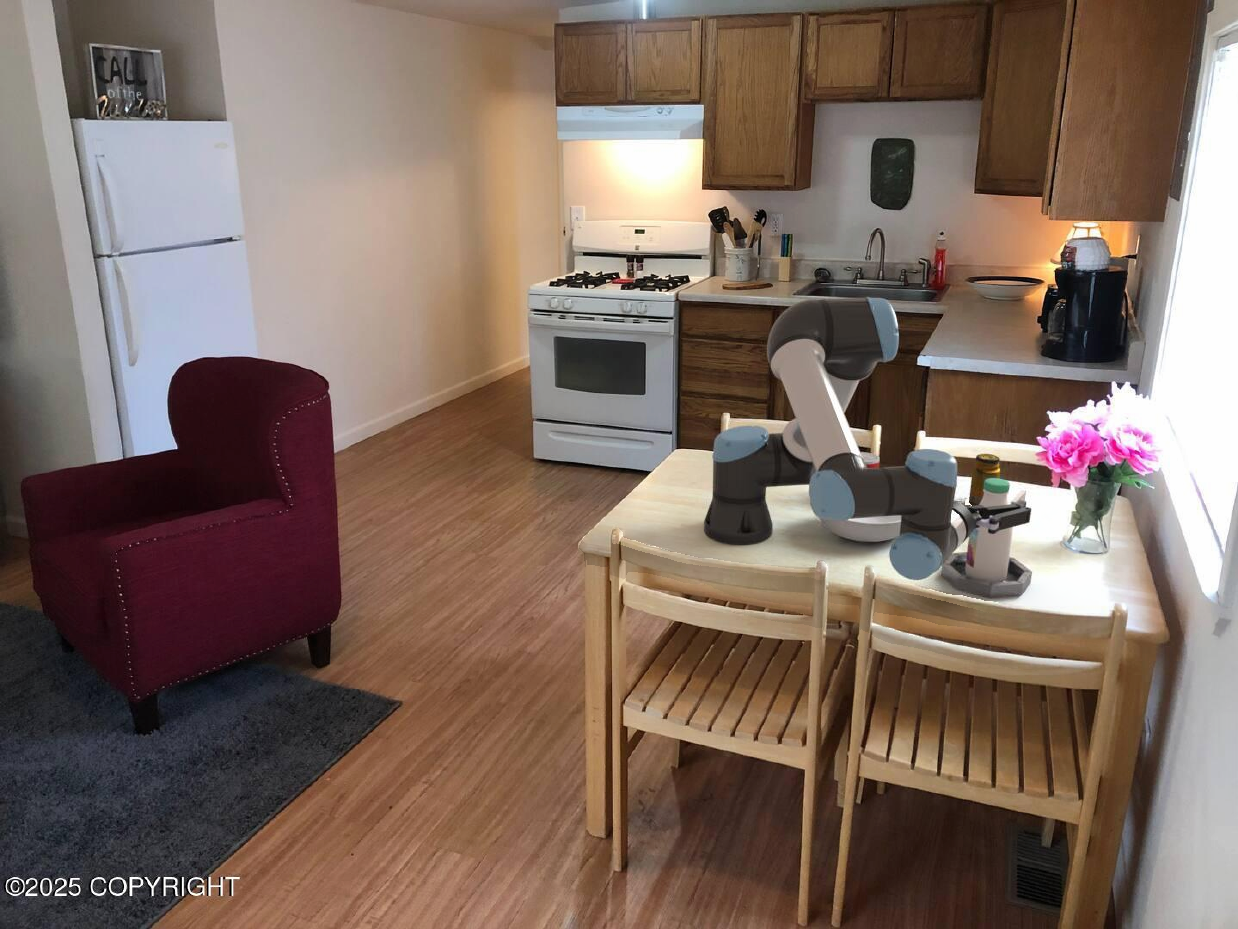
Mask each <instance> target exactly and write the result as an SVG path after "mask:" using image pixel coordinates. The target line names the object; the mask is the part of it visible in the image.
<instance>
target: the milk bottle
mask: <svg viewBox="0 0 1238 929" xmlns="http://www.w3.org/2000/svg"><path fill="white" fill-rule="evenodd" d="M1010 487H1011V484H1010V481H1008V480H1006V479H1003V478H999V479H998V478H989V479H986V480H985V481H984V489H983V491H984V496H983V498H982V500H981V502H980V504H979V505H983V506H984V507H990V506H1000V505H1009V504H1008V503H1009V502H1008V495H1009V493H1010V492H1009V491H1010ZM977 512H978V513H979V511H977ZM1013 528H1014V527H1011V528H1007V529H1003V530H999V531H998V532H997V533H995V534H990V533H988V528H985V527H981V526H980V527H979V528H976V529H974V530H973V532H972V533H971V535H970V536H969V537H968V540H967V541H968V543H967V550H966V552H967V558H966V566H965V573H966V575H967V577H968V578H972V579H976V580H980V581H984V582H988V583H999V582H1003V581H1004V580H1005V579H1006V576H1007V570H1008V562H1009V557H1010V556H1011V554H1010V552H1011V546H1012V538H1013Z"/></svg>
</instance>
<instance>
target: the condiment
mask: <svg viewBox="0 0 1238 929" xmlns="http://www.w3.org/2000/svg"><path fill="white" fill-rule="evenodd" d="M1000 474H1001V469H1000V457H999V456H997V455H995V454H992V453H979V454H977V455H976V457H975V461H974V465H973V466H972V472H971V480H970V481H971V482H970V486H969V487H970V489H969V495H968V497H969V503H970V504H971V505H972V506H974V505H979V504H980V502H981V500H982V498H983V496H984V491H983V489H984V481H985V480H986V479H989V478H998V479H1000Z"/></svg>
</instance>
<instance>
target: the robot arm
mask: <svg viewBox="0 0 1238 929" xmlns="http://www.w3.org/2000/svg"><path fill="white" fill-rule="evenodd" d="M899 337H900V335H899V323H898V319H897V315H896V312H895V310H894V307H893V306H892V304H891V303H890V301H888V299H885V298H882V297H869V296H866V297H847V298H829V299H827V298H826V299H815V298H814V299H806V300H801V301H798V302H797V303H794V304H793V305H790V306H789V307H788V308H786V309H785V310H784V311H783V312H782V313H781V314H780V315H779V316H777V319H776V320H775V321H774V323H773V325H772V328H771V330H770V332H769V334H768V339H767V345H766V356H767V361H768V363H769V367H770V369H771V372H772V374H773V375H774V377H775V378H777V379H778V380H780V381H781V382H782V385H783V387H784V391H785V393H786V396H787V398H788V400H789V403H790V406H791V408H792V412H793V414H794V416H795V418H793V419H792V420H790V421H788V422H787V424H786V425H785V426H784V428H783V431H782V432H776V433H769V431H768V429H767V428H765V427H763V426H758V425H753V426H751V425H742V426H741V425H740V426H736V427H731V428H728V429H725V430H723V431H721V433H719V434H718V435H717V436H716V437H715V439H714V442H713V451H712V452H713V453H712V454H711V455H712V499H711V502H710V503H709V506H708V509H707V512H706V515H705V517H704V521H703V533H704V534H705V535H706V536H707V537H708V538H710V539H711V540H714V541H715V542H718V543H724V544H729V545H752V544H759V543H762V542H765V541H766V540H768V539H769V538H771V537H772V535H773V520H772V517H771V513H770V511H769V507H768V504H767V500H766V498H767V497H766V496H767V494H766V493H767V492H766V491H767V488H772V487H773V488H774V487H788V486H808V497H809V501H810V502H809V504H810V508H811V510H812V513H813V514H814V515H815V516H816V517H817V518H818V519H819V518H820V519H825V520H848V519H855V518H868V517H882V516H899V515H901V525H900V534H899V536H897V537H895V538H894V541H893V542H892V544H891V545H890V547H889V553H888V557H889V560H890V564H891V566H892V567H893V569H894V571H896V572H897V573H898V575H900V576H902V577H903V578H906V579H908V580H911V581H921V580H925V579H927V578H929V577H930V576H931V575H933V574H934V573H935V574H936V572H937V571H939V569H942V565H943V563H944V562H945V561H946V560H947V559H948V558H949V557H950V556H951V555H952V554H953V553H955V552H956V550H957V549H958V548H959V547H960V546H962V544H963V543H964V542H966V540H968V539H969V536H970V535H971V533H972V532H973V530H974V529H976V528H979V527H980V526H981V527H985V528H988V533H990V534H995V533H997V532H998V531H999V530H1003V529H1007V528H1011V527H1013V528H1014V527H1017V526H1021V525H1026V524H1029V523H1030V520H1031V515H1032V508H1031V507H1029V506H1027V501H1026V494H1027V491H1026V490H1023V489H1021V490H1020V491H1019V493H1017V494H1016V496H1015V497H1014V498H1013V499H1012V500H1011V501H1010V503H1009V504H1008V505H1000V506H990V507H984V506H983V505H974V506H970V505H965V504H963V503H961V502H960V501H957V500H955V497H956V489H957V487H958V486H957V485H958V461H957V460H956V458H955V457H954V456H953V455H951V454H950V453H948V452H946V451H942V450H939V449H934V448H933V449H932V448H922V449H921V448H920V449H917V450H913V451H911V452H909V453H908V454H907V455H906V456H907V457H906V461H904V462H905V463H904V465H903V466H889V467H888V466H885V467H879V468H867V466H866V464H865V462H864V460H863V458H862V455H861V453H860V452H861V451H860V449H859V446H858V444H857V441H856V439H855V437H854V434H853V431H852V429H851V427H850V425H849V422H848V420H847V418H846V415H845V412H846V410H847V408H848V406H849V404H850V402H851V400H852V397H853V396H854V393H855V392H856V389H857V387H858V384H859V382H860V381H862V380H865V379H866V378H868V377H869V376H870V375H871V374H872V373H873V372H874V369H875V367H876V366H877V363H879V362H882V363H887V362H890V361H893V360H894V359H895V357H896V355H897V354H898V349H899V343H900V342H899V340H900V338H899ZM977 511H979V513H978V512H977ZM820 519H819V520H820Z"/></svg>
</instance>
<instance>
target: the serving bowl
mask: <svg viewBox="0 0 1238 929" xmlns="http://www.w3.org/2000/svg"><path fill="white" fill-rule="evenodd" d="M818 519H819V521H820V522H821V524H822V525H823V526H824V527H825V528H826V529H827V530H828V531H830V532H831V533H832V534H834V535H837V536H839V537H842V538H845V539H847V540H851V541H856V542H863V543H864V542H869V543H871V542H873V543H875V542H877V543H878V542H884V541H890V540H892V539H896V538H897V537H898V536H899V534H900V525H901V515H899V516H882V517H868V518H855V519H848V520H825V519H820V518H818Z"/></svg>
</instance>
